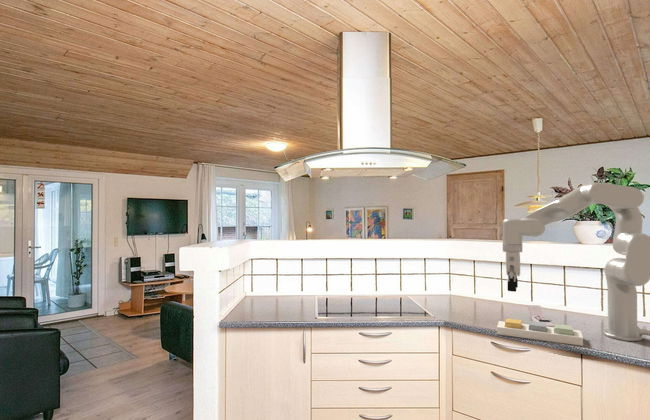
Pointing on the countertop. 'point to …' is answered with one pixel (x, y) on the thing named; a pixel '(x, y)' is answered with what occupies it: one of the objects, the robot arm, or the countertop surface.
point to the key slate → (537, 326)
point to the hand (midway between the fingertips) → (512, 289)
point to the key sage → (563, 329)
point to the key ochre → (513, 323)
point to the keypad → (540, 334)
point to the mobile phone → (539, 315)
